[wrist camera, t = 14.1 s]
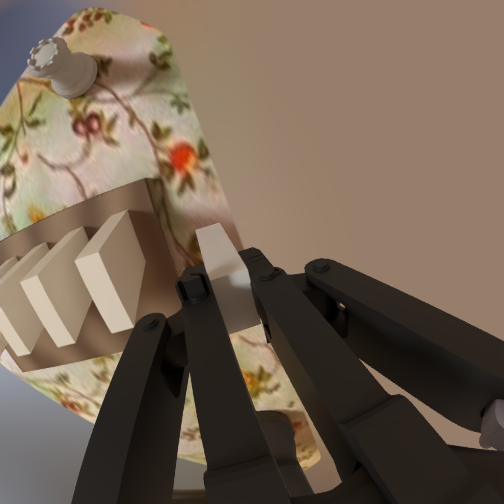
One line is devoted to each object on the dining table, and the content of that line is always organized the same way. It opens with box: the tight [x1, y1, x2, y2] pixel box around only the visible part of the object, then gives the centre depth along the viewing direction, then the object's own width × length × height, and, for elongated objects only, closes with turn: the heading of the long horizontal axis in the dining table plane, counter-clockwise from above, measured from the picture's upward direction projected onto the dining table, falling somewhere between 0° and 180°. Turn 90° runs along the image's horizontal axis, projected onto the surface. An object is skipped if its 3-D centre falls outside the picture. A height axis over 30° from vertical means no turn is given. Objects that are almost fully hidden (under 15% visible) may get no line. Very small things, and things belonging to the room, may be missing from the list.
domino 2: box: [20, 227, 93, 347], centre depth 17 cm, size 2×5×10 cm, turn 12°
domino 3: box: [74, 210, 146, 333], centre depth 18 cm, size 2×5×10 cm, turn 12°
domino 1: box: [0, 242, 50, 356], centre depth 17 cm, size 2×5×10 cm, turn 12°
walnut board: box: [0, 178, 182, 372], centre depth 23 cm, size 26×16×2 cm, turn 102°
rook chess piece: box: [28, 37, 98, 99], centre depth 13 cm, size 4×4×8 cm
